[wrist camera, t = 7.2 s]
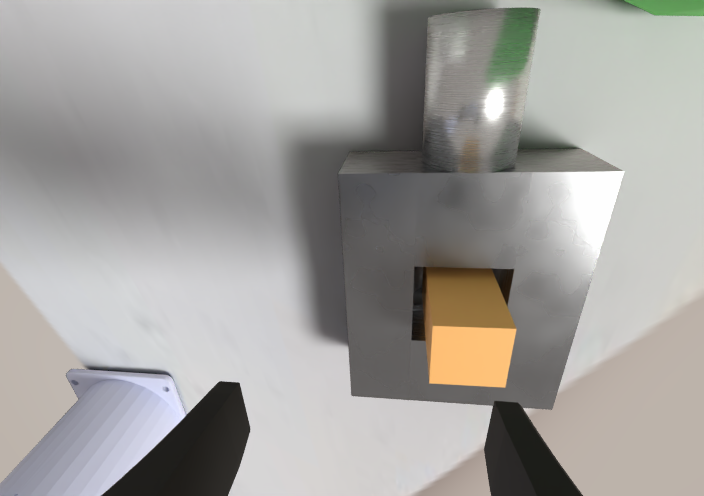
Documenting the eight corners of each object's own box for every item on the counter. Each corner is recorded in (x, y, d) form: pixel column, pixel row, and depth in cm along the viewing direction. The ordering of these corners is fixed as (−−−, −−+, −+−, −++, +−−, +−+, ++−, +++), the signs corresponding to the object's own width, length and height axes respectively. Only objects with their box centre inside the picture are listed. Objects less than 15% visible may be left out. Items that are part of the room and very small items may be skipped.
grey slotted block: (539, 358, 21) (563, 412, 18) (350, 348, 23) (341, 396, 20) (629, 9, 13) (698, -4, 10) (331, 26, 15) (312, 19, 12)
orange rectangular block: (482, 247, 18) (516, 329, 13) (476, 295, 19) (505, 387, 14) (424, 246, 18) (432, 325, 13) (421, 294, 20) (429, 383, 14)
